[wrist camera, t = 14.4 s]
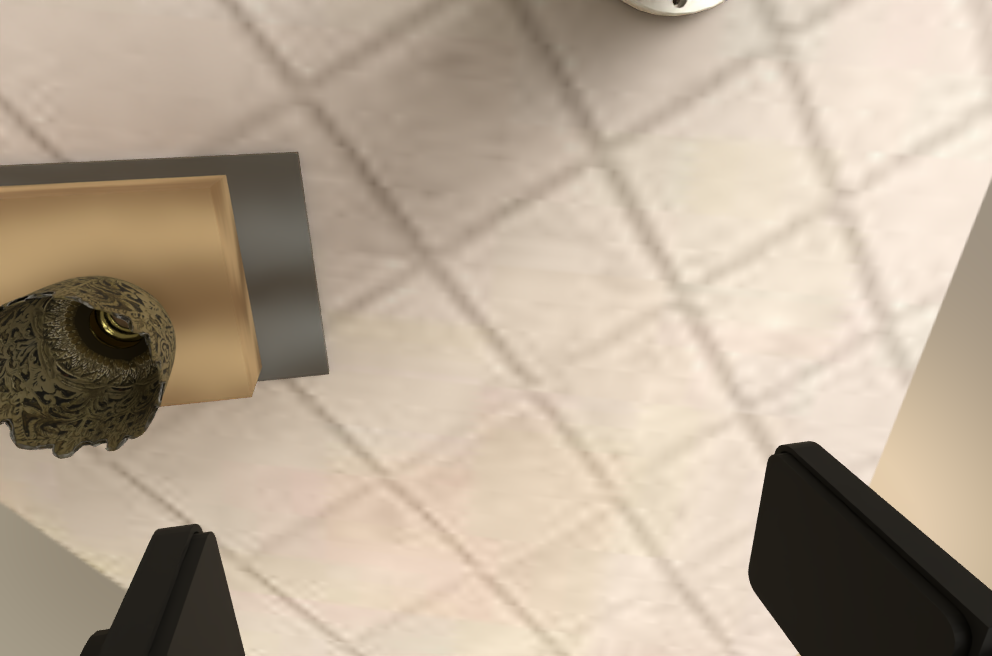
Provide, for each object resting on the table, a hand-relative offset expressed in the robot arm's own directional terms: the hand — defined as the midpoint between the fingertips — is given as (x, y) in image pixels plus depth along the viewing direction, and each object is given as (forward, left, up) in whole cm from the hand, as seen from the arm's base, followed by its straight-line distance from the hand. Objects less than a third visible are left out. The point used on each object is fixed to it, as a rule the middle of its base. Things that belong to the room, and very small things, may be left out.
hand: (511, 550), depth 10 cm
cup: (+4, -15, -26) cm, 30 cm away
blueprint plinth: (+4, -16, -30) cm, 34 cm away
